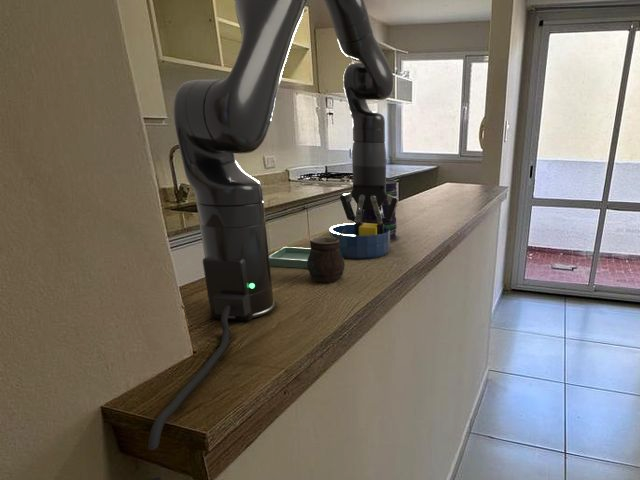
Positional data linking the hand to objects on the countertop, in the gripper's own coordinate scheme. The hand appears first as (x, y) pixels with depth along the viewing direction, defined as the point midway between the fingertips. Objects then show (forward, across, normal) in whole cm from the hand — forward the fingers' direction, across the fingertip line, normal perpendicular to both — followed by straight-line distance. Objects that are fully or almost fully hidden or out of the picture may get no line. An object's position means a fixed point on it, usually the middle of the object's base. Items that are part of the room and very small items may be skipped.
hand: (369, 238), depth 107 cm
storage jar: (+3, -1, +16) cm, 17 cm away
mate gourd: (+4, -3, -22) cm, 22 cm away
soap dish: (+3, -13, -11) cm, 18 cm away
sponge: (0, 0, 0) cm, 0 cm away
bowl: (+3, -2, 0) cm, 4 cm away
